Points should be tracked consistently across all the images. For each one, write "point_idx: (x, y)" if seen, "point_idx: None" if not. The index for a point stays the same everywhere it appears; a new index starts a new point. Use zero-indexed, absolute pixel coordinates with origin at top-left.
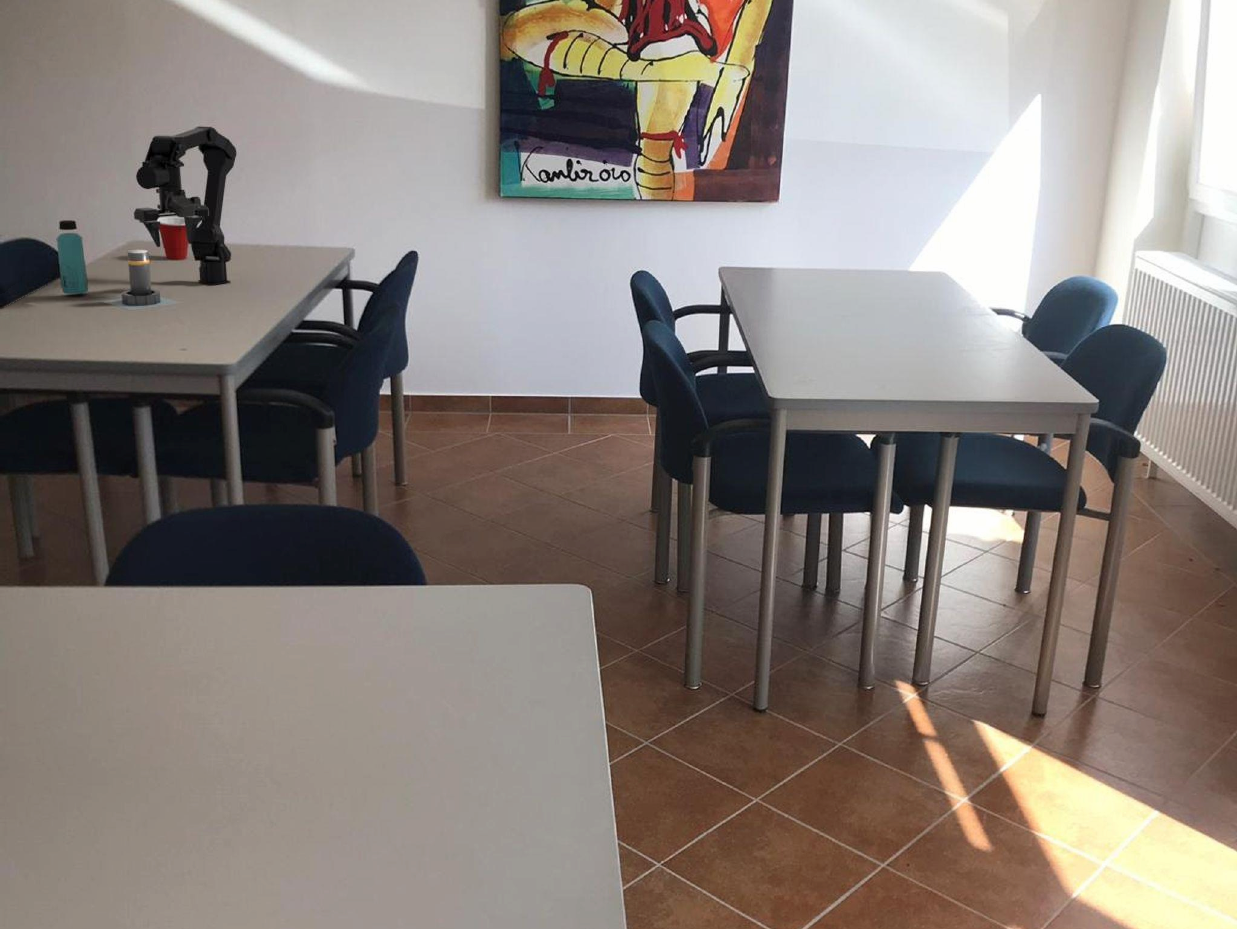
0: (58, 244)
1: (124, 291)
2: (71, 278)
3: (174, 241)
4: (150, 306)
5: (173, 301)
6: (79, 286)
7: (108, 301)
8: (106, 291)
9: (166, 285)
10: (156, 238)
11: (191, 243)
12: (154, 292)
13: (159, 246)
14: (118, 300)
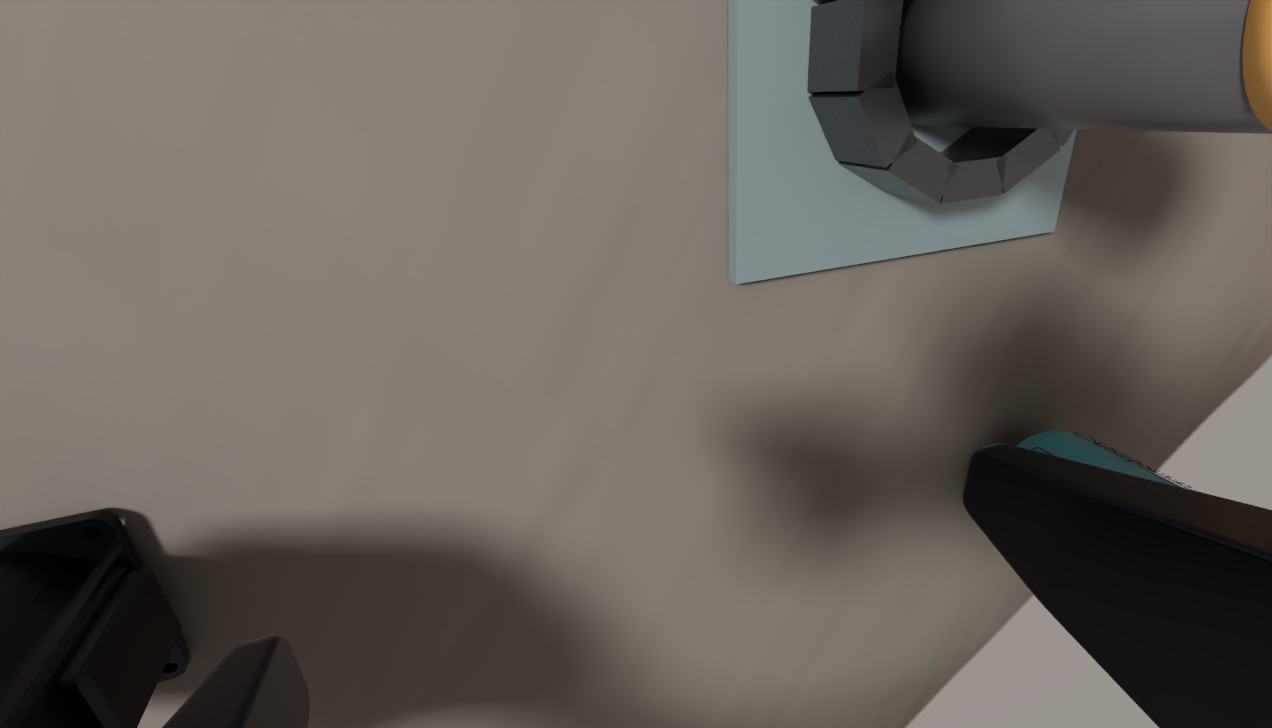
0: None
1: (1035, 167)
2: (1166, 479)
3: None
4: None
5: None
6: (1087, 448)
7: (1035, 211)
8: (827, 558)
9: (466, 620)
10: (1238, 502)
11: (246, 641)
12: (894, 13)
13: (994, 448)
14: (984, 210)
